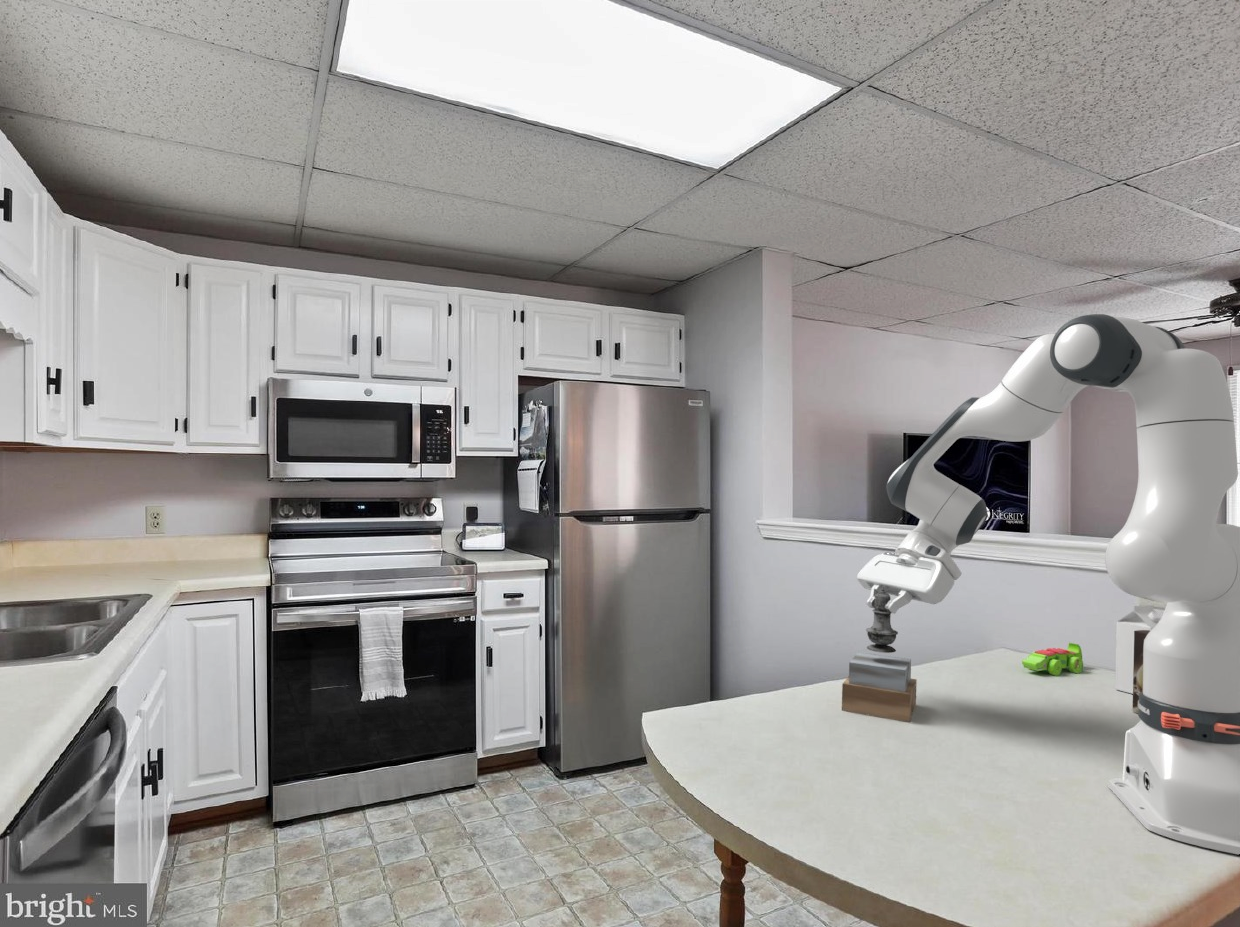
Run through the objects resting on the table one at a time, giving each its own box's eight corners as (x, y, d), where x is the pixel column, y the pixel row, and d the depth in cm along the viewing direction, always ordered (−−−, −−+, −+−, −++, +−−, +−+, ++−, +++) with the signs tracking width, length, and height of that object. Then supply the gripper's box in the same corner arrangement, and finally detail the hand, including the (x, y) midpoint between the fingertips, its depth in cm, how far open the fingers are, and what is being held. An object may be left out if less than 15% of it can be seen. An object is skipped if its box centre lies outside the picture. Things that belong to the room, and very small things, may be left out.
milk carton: (1114, 690, 157) (1116, 603, 158) (1134, 687, 160) (1136, 601, 161) (1150, 699, 151) (1151, 609, 151) (1170, 696, 154) (1171, 607, 154)
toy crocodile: (1039, 678, 166) (1040, 652, 166) (1013, 671, 172) (1013, 645, 172) (1094, 671, 174) (1094, 646, 174) (1067, 665, 180) (1067, 640, 180)
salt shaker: (892, 654, 135) (894, 591, 136) (861, 649, 139) (862, 587, 139) (901, 649, 140) (902, 587, 140) (870, 644, 144) (872, 584, 144)
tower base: (909, 722, 131) (910, 672, 131) (841, 710, 137) (842, 662, 137) (915, 704, 142) (917, 658, 142) (853, 694, 147) (854, 650, 147)
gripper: (874, 541, 152) (835, 588, 148) (952, 551, 133) (910, 606, 129) (890, 562, 154) (852, 609, 150) (969, 575, 135) (928, 630, 131)
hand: (879, 608), depth 139 cm, fingers closed on salt shaker, 4 cm apart
